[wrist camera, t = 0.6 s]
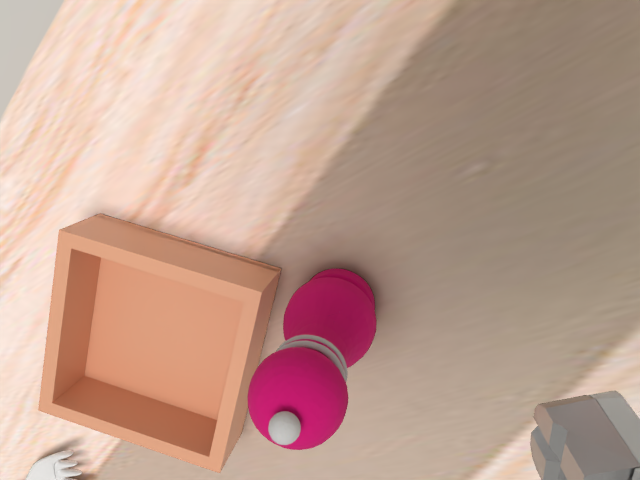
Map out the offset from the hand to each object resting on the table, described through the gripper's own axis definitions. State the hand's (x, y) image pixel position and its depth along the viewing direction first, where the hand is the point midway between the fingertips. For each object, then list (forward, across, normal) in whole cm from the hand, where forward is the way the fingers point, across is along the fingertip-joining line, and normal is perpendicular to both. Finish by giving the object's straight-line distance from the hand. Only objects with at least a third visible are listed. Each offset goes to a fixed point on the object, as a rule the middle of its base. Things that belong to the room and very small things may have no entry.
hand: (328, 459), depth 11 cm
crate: (+35, +12, +25) cm, 45 cm away
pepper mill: (+32, -3, +23) cm, 39 cm away
